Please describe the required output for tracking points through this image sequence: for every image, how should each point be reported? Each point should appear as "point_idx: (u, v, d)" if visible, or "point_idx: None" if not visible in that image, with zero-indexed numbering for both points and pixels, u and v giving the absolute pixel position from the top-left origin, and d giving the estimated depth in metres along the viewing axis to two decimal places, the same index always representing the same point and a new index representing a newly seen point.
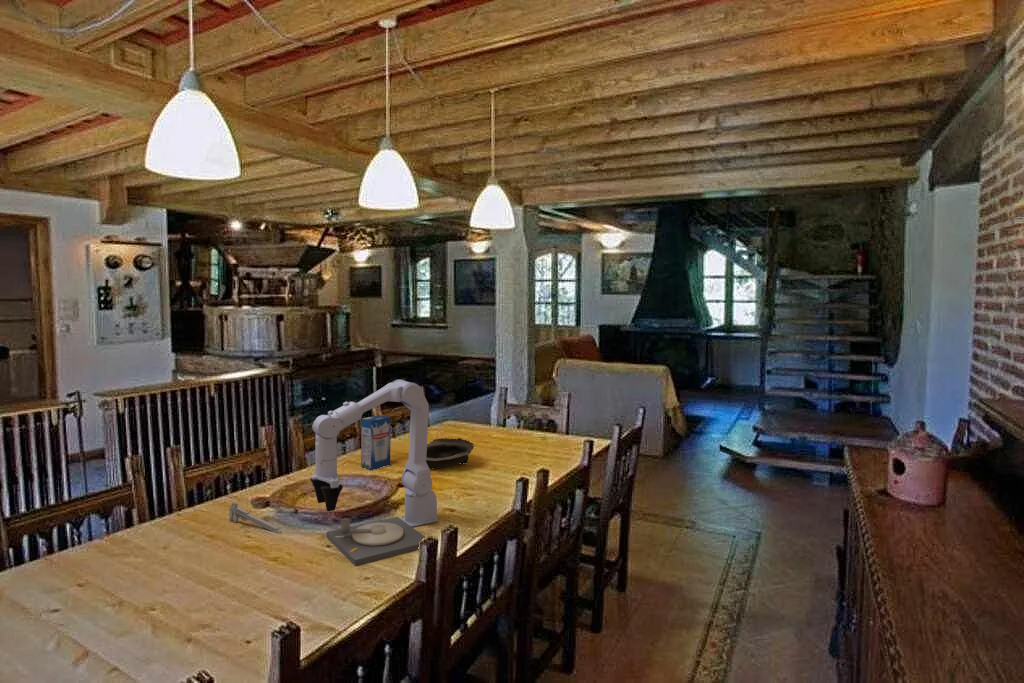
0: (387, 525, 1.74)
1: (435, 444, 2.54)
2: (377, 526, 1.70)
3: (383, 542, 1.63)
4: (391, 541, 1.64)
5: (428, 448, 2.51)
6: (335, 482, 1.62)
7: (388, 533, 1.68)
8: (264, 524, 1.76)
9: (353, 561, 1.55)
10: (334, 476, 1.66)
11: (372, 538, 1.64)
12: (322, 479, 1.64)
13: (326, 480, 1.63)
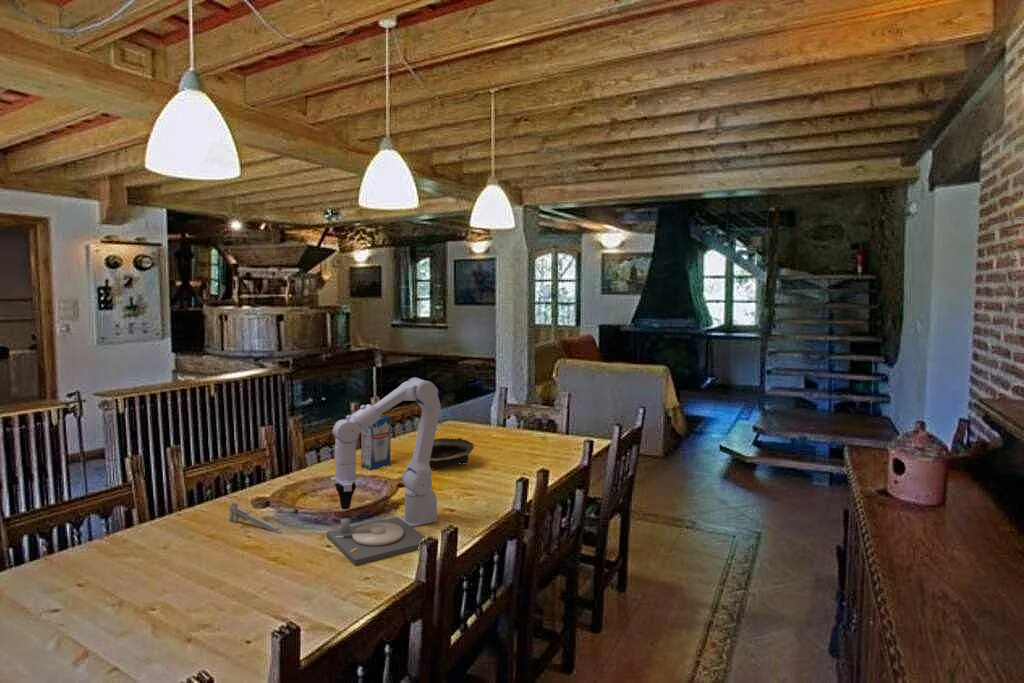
0: (387, 525, 1.74)
1: (435, 444, 2.54)
2: (377, 526, 1.70)
3: (383, 542, 1.63)
4: (391, 541, 1.64)
5: None
6: (348, 486, 1.65)
7: (388, 533, 1.68)
8: (264, 524, 1.76)
9: (353, 561, 1.55)
10: (351, 480, 1.70)
11: (372, 538, 1.64)
12: (338, 482, 1.68)
13: (341, 483, 1.67)
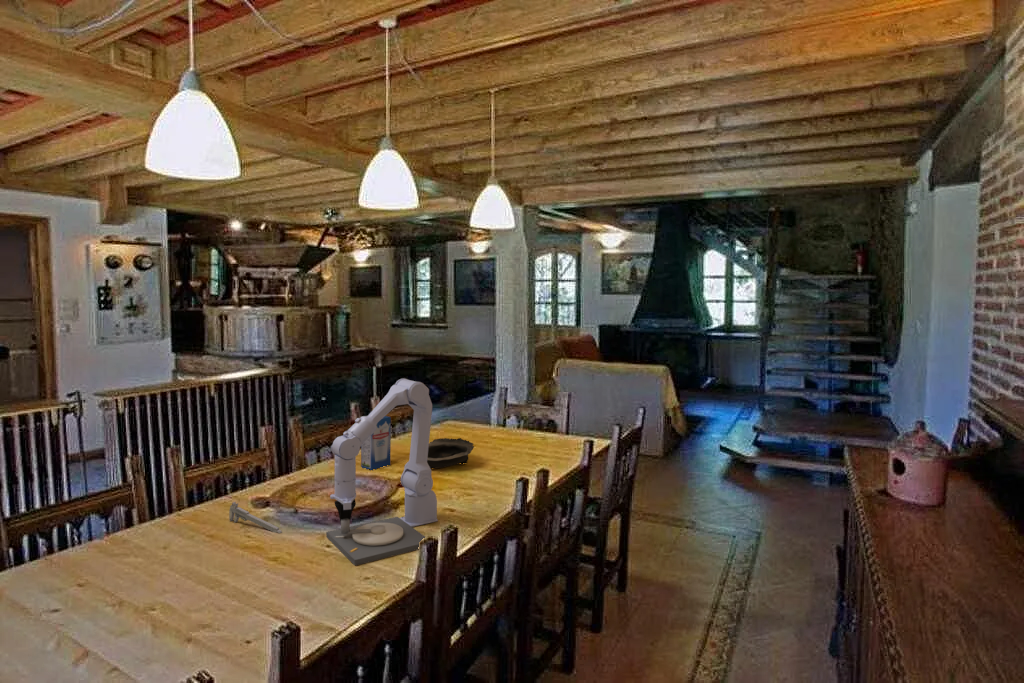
0: (387, 525, 1.74)
1: (435, 444, 2.54)
2: (377, 526, 1.70)
3: (384, 542, 1.63)
4: (392, 541, 1.64)
5: (428, 448, 2.51)
6: (347, 504, 1.62)
7: (388, 533, 1.68)
8: (264, 524, 1.76)
9: (353, 561, 1.55)
10: (351, 497, 1.67)
11: (372, 538, 1.64)
12: (338, 499, 1.66)
13: (340, 501, 1.64)
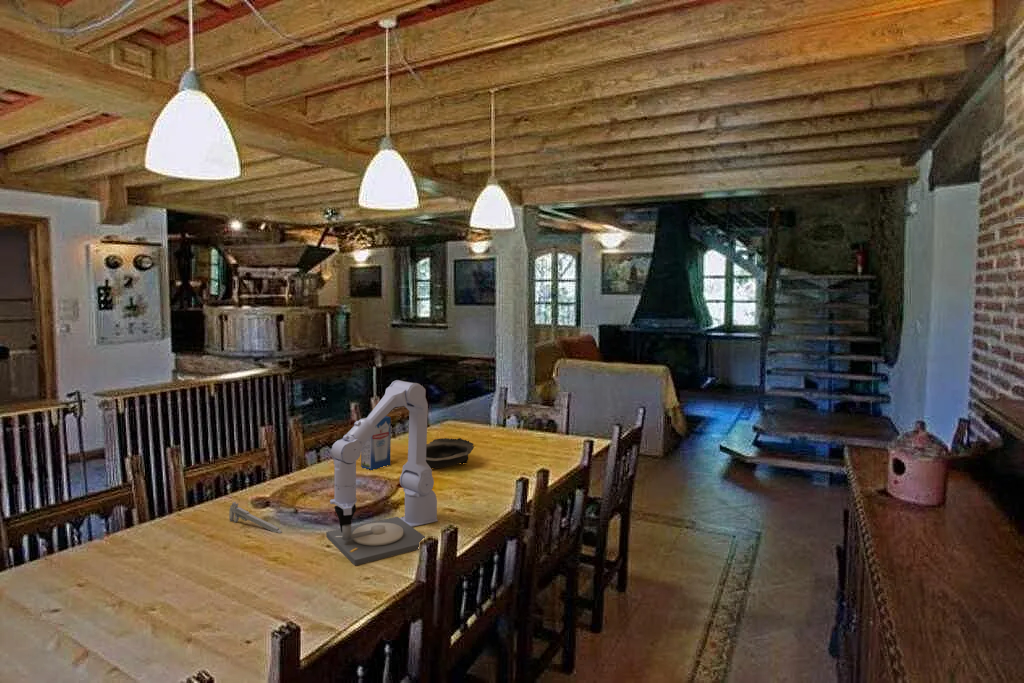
0: (378, 525, 1.74)
1: (435, 444, 2.54)
2: (375, 526, 1.70)
3: (395, 539, 1.65)
4: (400, 537, 1.67)
5: (428, 448, 2.51)
6: (348, 509, 1.58)
7: (389, 531, 1.70)
8: (264, 524, 1.76)
9: (353, 561, 1.55)
10: (351, 502, 1.63)
11: (381, 538, 1.65)
12: (338, 505, 1.61)
13: (341, 506, 1.60)
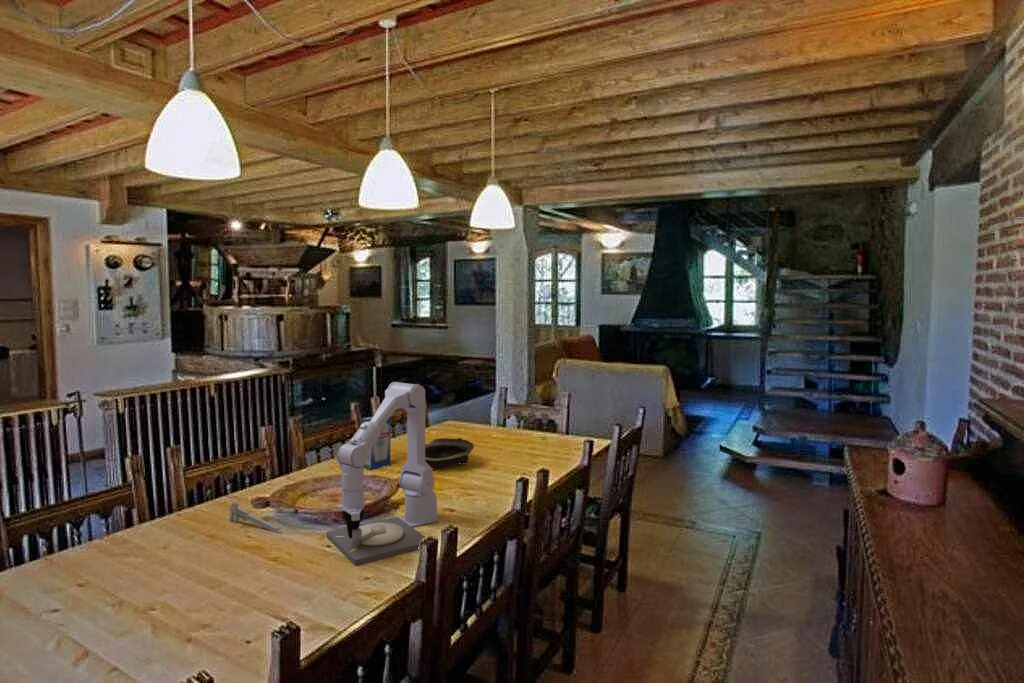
0: (369, 526, 1.73)
1: (435, 444, 2.54)
2: (374, 527, 1.69)
3: (402, 534, 1.68)
4: None
5: (428, 448, 2.51)
6: (356, 515, 1.55)
7: (387, 528, 1.71)
8: (264, 524, 1.76)
9: (353, 561, 1.55)
10: (359, 507, 1.60)
11: (389, 536, 1.66)
12: (345, 510, 1.58)
13: (348, 512, 1.57)
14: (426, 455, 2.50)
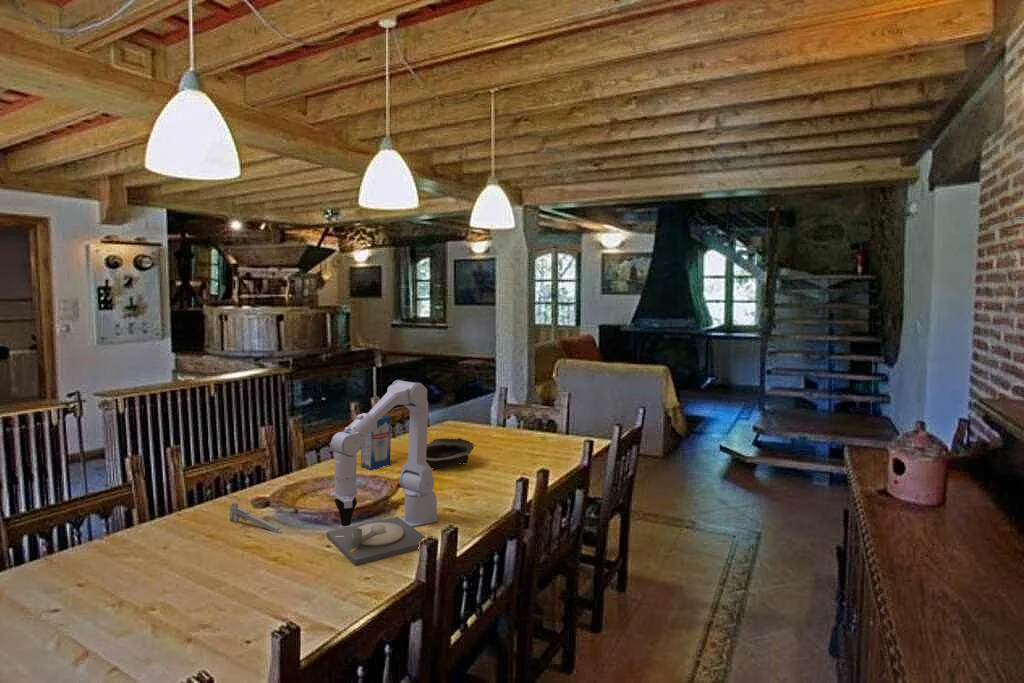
0: (369, 526, 1.73)
1: (435, 444, 2.54)
2: (374, 527, 1.69)
3: (402, 534, 1.68)
4: None
5: (428, 448, 2.51)
6: (348, 502, 1.56)
7: (387, 528, 1.71)
8: (264, 524, 1.76)
9: (353, 561, 1.55)
10: (352, 495, 1.61)
11: (389, 536, 1.66)
12: (338, 498, 1.59)
13: (341, 499, 1.58)
14: (426, 455, 2.50)
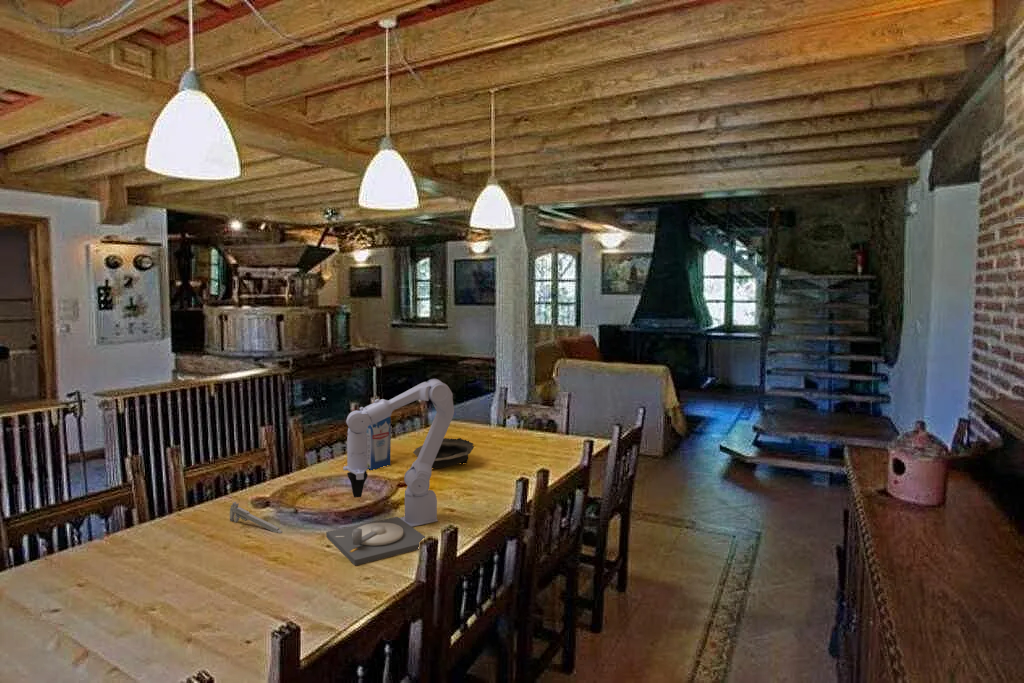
0: (369, 526, 1.73)
1: None
2: (374, 527, 1.69)
3: (402, 534, 1.68)
4: None
5: None
6: (360, 474, 1.71)
7: (387, 528, 1.71)
8: (265, 524, 1.76)
9: (353, 561, 1.55)
10: (363, 469, 1.76)
11: (389, 536, 1.66)
12: (351, 471, 1.74)
13: (353, 472, 1.73)
14: None
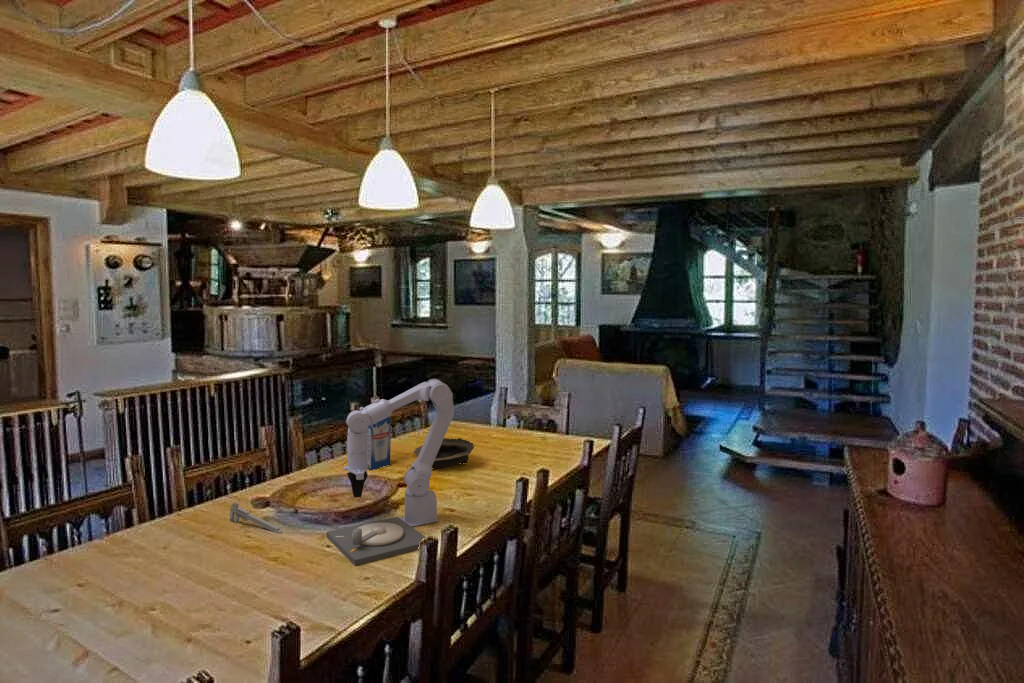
0: (369, 526, 1.73)
1: None
2: (374, 527, 1.69)
3: (402, 534, 1.68)
4: None
5: None
6: (360, 474, 1.71)
7: (387, 528, 1.71)
8: (265, 524, 1.76)
9: (353, 561, 1.55)
10: (363, 469, 1.76)
11: (389, 536, 1.66)
12: (351, 471, 1.74)
13: (353, 472, 1.73)
14: None
